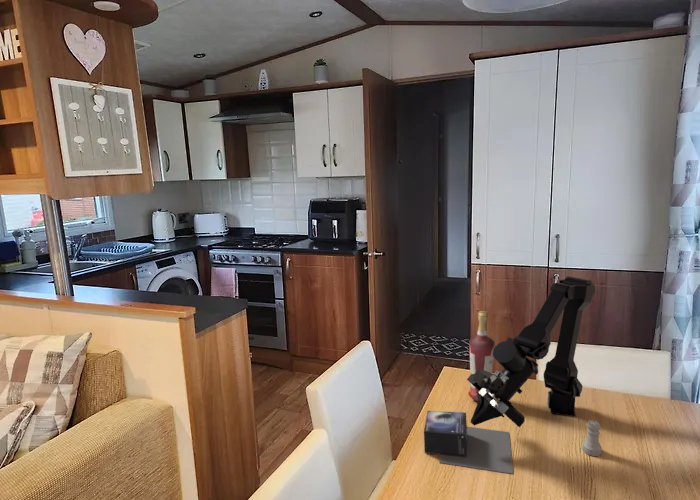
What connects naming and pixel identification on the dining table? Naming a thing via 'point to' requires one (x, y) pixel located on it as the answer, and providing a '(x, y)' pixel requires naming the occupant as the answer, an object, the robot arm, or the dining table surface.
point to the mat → (484, 451)
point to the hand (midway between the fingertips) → (472, 423)
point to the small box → (445, 433)
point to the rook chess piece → (592, 439)
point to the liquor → (480, 351)
